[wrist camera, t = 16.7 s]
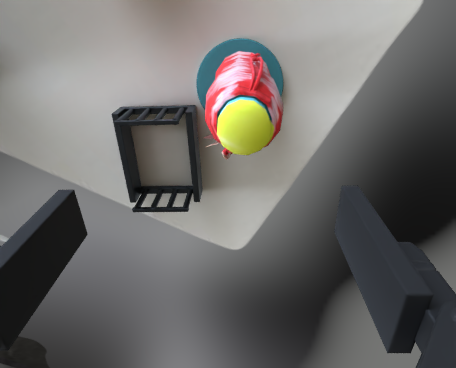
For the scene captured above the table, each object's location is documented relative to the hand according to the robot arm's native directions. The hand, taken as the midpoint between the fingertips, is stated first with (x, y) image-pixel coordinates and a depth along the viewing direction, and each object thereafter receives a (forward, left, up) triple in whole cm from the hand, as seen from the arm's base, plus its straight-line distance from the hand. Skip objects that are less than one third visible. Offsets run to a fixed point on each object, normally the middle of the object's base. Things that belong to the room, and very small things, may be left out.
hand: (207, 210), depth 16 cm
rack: (-12, -11, -36) cm, 39 cm away
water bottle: (+1, -1, -36) cm, 36 cm away
